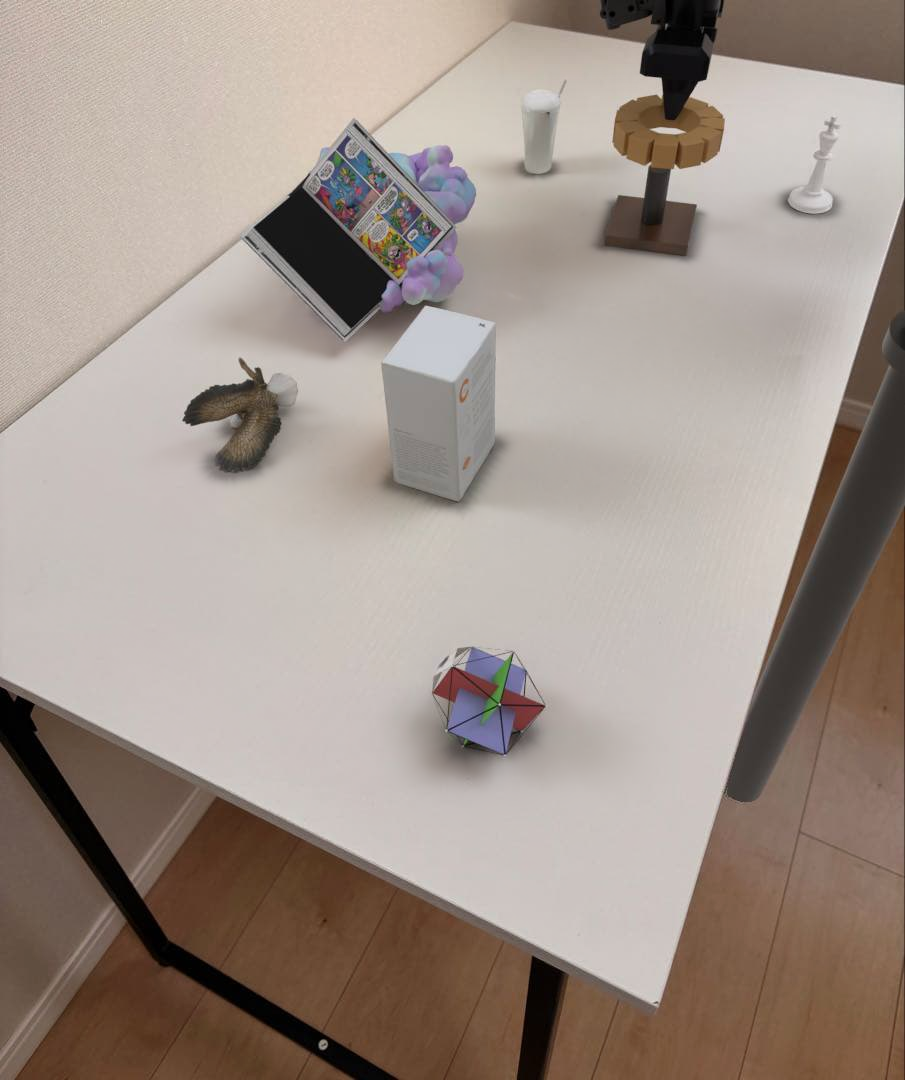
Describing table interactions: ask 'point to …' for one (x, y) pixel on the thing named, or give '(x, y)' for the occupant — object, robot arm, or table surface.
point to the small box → (441, 401)
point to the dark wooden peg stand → (652, 219)
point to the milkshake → (540, 128)
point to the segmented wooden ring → (668, 148)
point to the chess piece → (817, 176)
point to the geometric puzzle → (485, 699)
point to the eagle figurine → (244, 415)
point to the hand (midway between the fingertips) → (671, 113)
